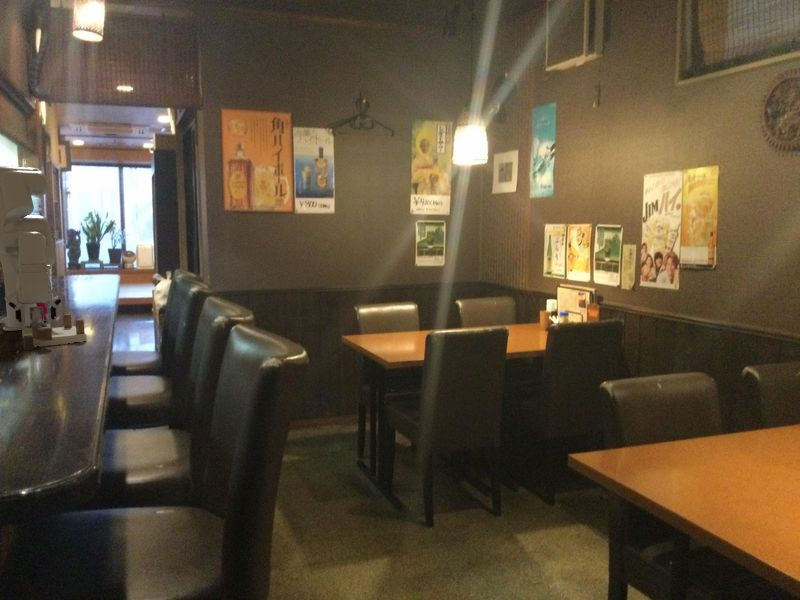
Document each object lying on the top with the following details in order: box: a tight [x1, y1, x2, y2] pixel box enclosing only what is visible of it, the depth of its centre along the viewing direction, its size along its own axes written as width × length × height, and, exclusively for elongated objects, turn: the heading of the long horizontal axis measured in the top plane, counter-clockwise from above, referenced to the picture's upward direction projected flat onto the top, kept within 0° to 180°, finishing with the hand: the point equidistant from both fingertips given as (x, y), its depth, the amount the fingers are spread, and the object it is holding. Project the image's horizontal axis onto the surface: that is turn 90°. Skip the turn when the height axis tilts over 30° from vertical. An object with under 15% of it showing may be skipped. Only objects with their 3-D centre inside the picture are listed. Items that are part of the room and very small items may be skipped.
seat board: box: [21, 314, 87, 352], centre depth 208 cm, size 28×18×7 cm, turn 36°
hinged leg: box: [32, 327, 52, 341], centre depth 197 cm, size 2×10×4 cm, turn 46°
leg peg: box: [29, 307, 45, 328], centre depth 214 cm, size 4×4×8 cm
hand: (36, 320), depth 214 cm, fingers open, 9 cm apart
